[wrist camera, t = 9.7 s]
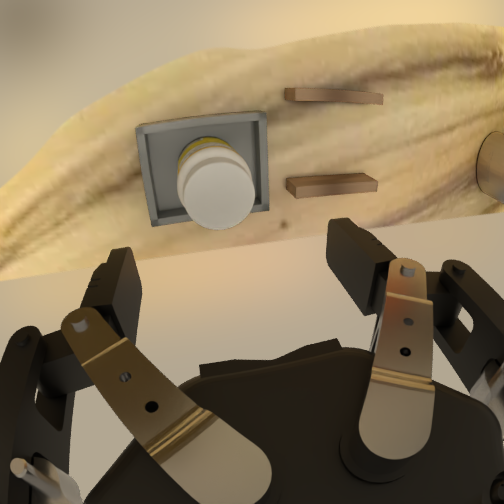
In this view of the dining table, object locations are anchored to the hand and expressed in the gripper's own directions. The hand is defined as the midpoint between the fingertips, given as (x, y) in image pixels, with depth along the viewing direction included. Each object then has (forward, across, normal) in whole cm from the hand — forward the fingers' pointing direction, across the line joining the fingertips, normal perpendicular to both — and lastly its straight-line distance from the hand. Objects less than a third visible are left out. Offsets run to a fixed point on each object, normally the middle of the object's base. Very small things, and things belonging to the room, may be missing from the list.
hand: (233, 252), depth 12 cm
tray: (+14, 0, 0) cm, 14 cm away
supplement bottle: (+14, 0, 0) cm, 14 cm away
